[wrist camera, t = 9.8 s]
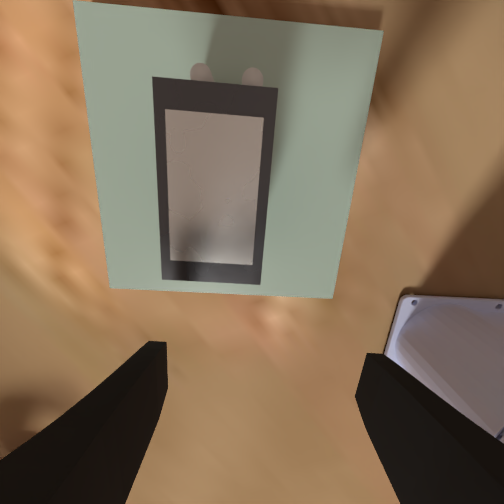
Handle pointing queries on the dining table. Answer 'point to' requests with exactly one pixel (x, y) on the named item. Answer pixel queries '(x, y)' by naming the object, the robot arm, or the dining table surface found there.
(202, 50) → the pin tray
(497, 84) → the dining table surface
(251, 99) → the block
